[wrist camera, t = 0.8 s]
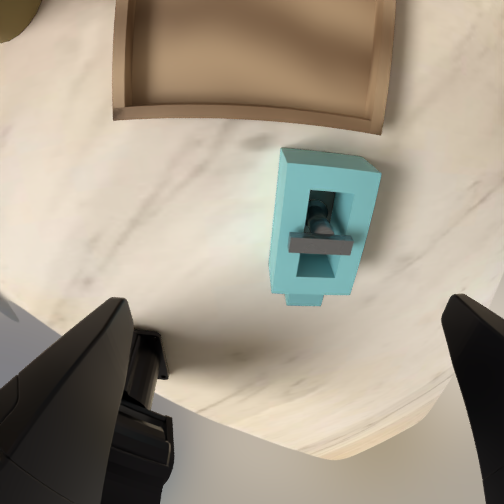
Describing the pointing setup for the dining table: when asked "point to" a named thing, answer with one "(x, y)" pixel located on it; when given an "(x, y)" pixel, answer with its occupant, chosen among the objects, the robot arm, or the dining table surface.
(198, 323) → the dining table surface
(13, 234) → the dining table surface
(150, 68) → the tray
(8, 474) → the robot arm
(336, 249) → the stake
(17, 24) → the cork
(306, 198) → the teal hollow block
